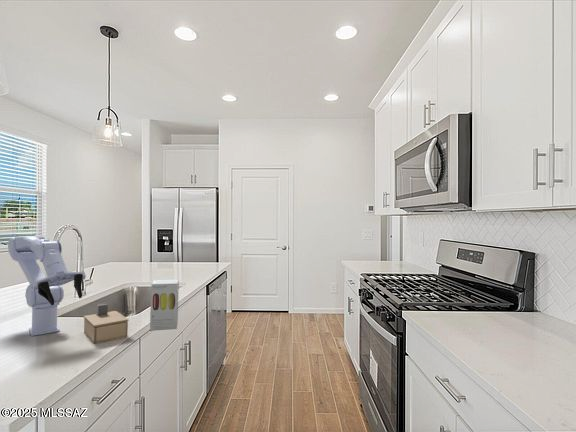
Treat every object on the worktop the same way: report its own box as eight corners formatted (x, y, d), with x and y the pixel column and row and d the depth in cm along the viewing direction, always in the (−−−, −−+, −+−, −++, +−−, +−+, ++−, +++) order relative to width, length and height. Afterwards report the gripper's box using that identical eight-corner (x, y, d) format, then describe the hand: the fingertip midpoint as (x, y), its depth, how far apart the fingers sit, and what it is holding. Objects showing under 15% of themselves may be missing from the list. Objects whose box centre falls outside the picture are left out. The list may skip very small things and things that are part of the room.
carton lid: (83, 317, 117) (83, 305, 117) (115, 312, 124) (116, 301, 124) (93, 327, 106) (94, 314, 106) (128, 321, 113) (128, 308, 114)
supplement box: (149, 331, 119) (150, 283, 120) (152, 323, 128) (152, 279, 128) (177, 329, 122) (178, 282, 122) (178, 321, 131) (179, 278, 131)
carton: (84, 332, 117) (84, 318, 117) (115, 327, 124) (115, 313, 124) (94, 343, 107) (94, 328, 107) (127, 336, 113) (127, 321, 113)
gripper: (29, 265, 106) (39, 298, 100) (81, 256, 116) (93, 285, 110) (28, 279, 110) (39, 312, 103) (79, 269, 120) (91, 298, 114)
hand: (67, 299), depth 107 cm, fingers open, 7 cm apart
